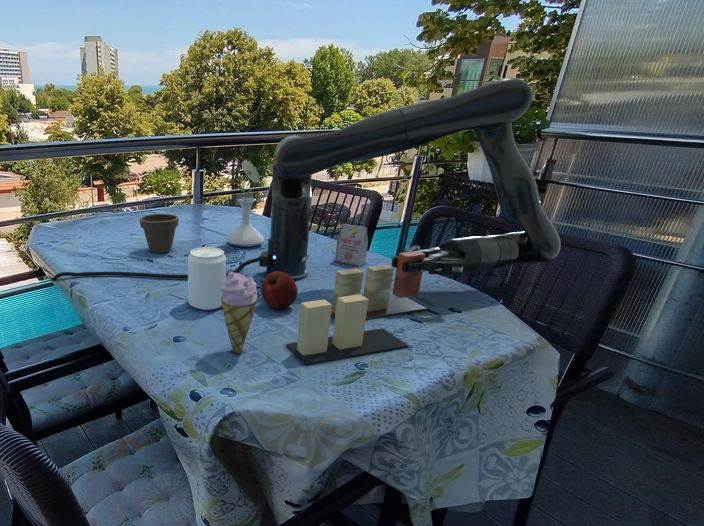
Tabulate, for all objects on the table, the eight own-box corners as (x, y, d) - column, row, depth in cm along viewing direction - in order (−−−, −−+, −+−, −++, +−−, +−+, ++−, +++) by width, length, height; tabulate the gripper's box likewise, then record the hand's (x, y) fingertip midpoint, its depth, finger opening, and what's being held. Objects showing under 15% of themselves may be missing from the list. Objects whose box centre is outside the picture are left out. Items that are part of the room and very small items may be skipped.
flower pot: (157, 242, 148) (156, 211, 144) (186, 248, 142) (186, 215, 138) (133, 252, 139) (131, 219, 135) (163, 258, 133) (162, 223, 129)
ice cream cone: (217, 342, 86) (217, 265, 80) (250, 340, 86) (253, 263, 80) (223, 360, 80) (224, 279, 74) (259, 358, 80) (263, 276, 74)
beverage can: (229, 299, 104) (230, 247, 100) (220, 313, 97) (221, 259, 93) (194, 295, 107) (194, 245, 102) (183, 309, 100) (182, 256, 95)
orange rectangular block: (400, 298, 96) (406, 256, 92) (392, 293, 98) (398, 253, 95) (418, 295, 97) (425, 254, 94) (410, 291, 99) (417, 250, 96)
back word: (341, 323, 92) (346, 278, 88) (322, 309, 98) (326, 267, 94) (426, 310, 96) (435, 267, 92) (403, 297, 102) (410, 256, 99)
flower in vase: (266, 249, 138) (270, 162, 128) (228, 250, 138) (229, 163, 129) (259, 237, 150) (263, 157, 140) (224, 238, 150) (225, 158, 141)
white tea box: (341, 257, 129) (345, 222, 125) (365, 262, 124) (370, 226, 120) (335, 260, 127) (338, 225, 123) (358, 266, 122) (363, 229, 118)
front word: (306, 365, 78) (310, 314, 74) (286, 345, 84) (289, 298, 80) (407, 347, 82) (417, 298, 79) (382, 330, 88) (389, 284, 85)
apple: (253, 303, 102) (254, 269, 98) (282, 297, 104) (285, 263, 101) (272, 316, 95) (274, 280, 92) (303, 309, 98) (306, 274, 95)
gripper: (445, 230, 103) (378, 238, 99) (501, 247, 90) (426, 257, 87) (439, 262, 106) (373, 271, 102) (492, 282, 93) (419, 294, 89)
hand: (398, 264), depth 94 cm, fingers closed on orange rectangular block, 2 cm apart
